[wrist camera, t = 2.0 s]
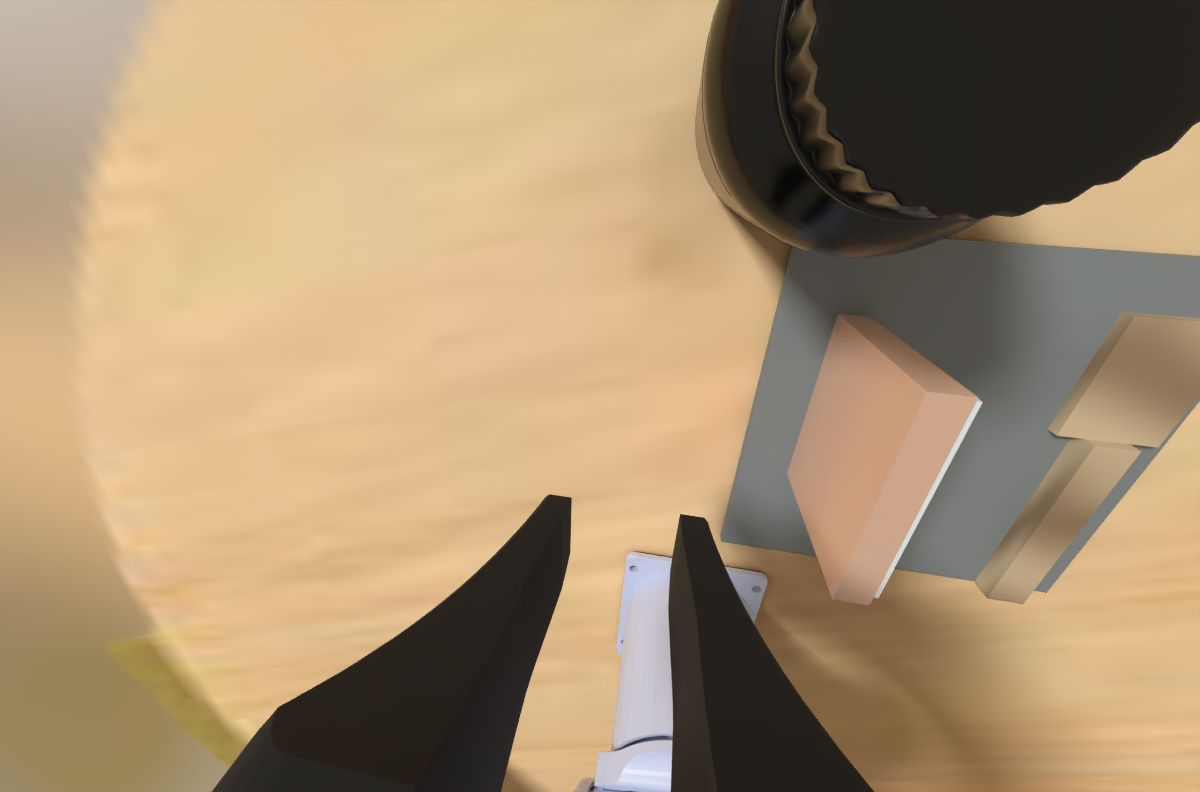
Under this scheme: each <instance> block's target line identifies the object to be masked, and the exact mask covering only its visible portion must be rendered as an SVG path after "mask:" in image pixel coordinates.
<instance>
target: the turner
mask: <svg viewBox="0 0 1200 792" xmlns="http://www.w3.org/2000/svg"><path fill="white" fill-rule="evenodd" d="M1199 396H1200V319H1199V318H1188V317H1176V316H1164V315H1152V314H1140V313H1129V312H1122V313H1121V314H1120V316H1119V317H1118V319H1117V321H1116V322H1115V324H1114V325H1113V327H1112V328H1111V330H1110V332H1109V333H1108V335H1107V336H1106V338H1105V339H1104V341H1103V343H1102V344H1101V346H1100V347H1099V349H1098V351H1097V352H1096V354H1095V355H1094V357H1093V358H1092V360H1091V362H1090V363H1089V365H1088V366H1087V368H1086V369H1085V371H1084V373H1083V374H1082V376H1081V377H1080V379H1079V381H1078V382H1077V384H1076V385H1075V387H1074V388H1073V390H1072V392H1071V393H1070V395H1069V396H1068V398H1067V400H1066V401H1065V403H1064V404H1063V406H1062V407H1061V409H1060V411H1059V412H1058V414H1057V415H1056V417H1055V418H1054V420H1053V422H1052V423H1051V425H1050V426H1049V428H1048V430H1049V431H1051V432H1052V433H1054V434H1055V435H1057V436H1063V437H1071V438H1070V440H1069V441H1068V443H1067V444H1066V446H1065V447H1064V449H1063V450H1062V452H1061V453H1060V455H1059V456H1058V458H1057V459H1056V461H1055V462H1054V464H1053V465H1052V467H1051V468H1050V470H1049V471H1048V473H1047V474H1046V476H1045V477H1044V479H1043V480H1042V482H1041V483H1040V485H1039V486H1038V488H1037V489H1036V491H1035V492H1034V494H1033V495H1032V497H1031V498H1030V500H1029V501H1028V503H1027V504H1026V506H1025V507H1024V509H1023V510H1022V512H1021V513H1020V515H1019V516H1018V518H1017V519H1016V521H1015V522H1014V524H1013V525H1012V526H1011V528H1010V529H1009V531H1008V532H1007V534H1006V535H1005V537H1004V538H1003V540H1002V541H1001V543H1000V544H999V546H998V547H997V549H996V550H995V552H994V553H993V555H992V556H991V558H990V559H989V561H988V562H987V564H986V565H985V567H984V568H983V570H982V571H981V573H980V574H979V576H978V577H977V579H976V580H975V582H976V584H977V585H978V586H979V588H980V589H981V591H982V592H983V593H984V595H985V596H986V597H987V598H988V599H995V600H1001V601H1007V602H1013V603H1019V604H1024V602H1025V601H1026V600H1027V598H1028V597H1029V596H1030V595H1031V593H1032V592H1033V591H1034V589H1035V588H1036V587H1037V586H1038V584H1039V583H1040V582H1041V580H1042V579H1043V578H1044V577H1045V575H1046V574H1047V573H1048V571H1049V570H1050V569H1051V568H1052V566H1053V565H1054V564H1055V562H1056V561H1057V560H1058V559H1059V557H1060V556H1061V555H1062V553H1063V552H1064V551H1065V550H1066V548H1067V547H1068V546H1069V544H1070V543H1071V542H1072V540H1073V539H1074V538H1075V537H1076V535H1077V534H1078V533H1079V531H1080V530H1081V529H1082V528H1083V526H1084V525H1085V524H1086V522H1087V521H1088V520H1089V519H1090V517H1091V516H1092V515H1093V513H1094V512H1095V511H1096V510H1097V508H1098V507H1099V506H1100V504H1101V503H1102V502H1103V501H1104V499H1105V498H1106V497H1107V495H1108V494H1109V493H1110V491H1111V490H1112V489H1113V488H1114V486H1115V485H1116V484H1117V482H1118V481H1119V480H1120V479H1121V477H1122V476H1123V475H1124V473H1125V472H1126V471H1127V470H1128V468H1129V467H1130V466H1131V464H1132V463H1133V462H1134V461H1135V459H1136V458H1137V457H1138V455H1139V454H1140V453H1141V452H1142V451H1140V450H1138V449H1137V448H1135V447H1133V446H1132V445H1140V446H1149V447H1157V448H1159V446H1160V445H1161V444H1162V443H1163V441H1164V440H1165V439H1166V437H1167V436H1168V435H1169V434H1170V432H1171V431H1172V430H1173V429H1174V427H1175V426H1176V425H1177V424H1178V422H1179V421H1180V420H1181V419H1182V417H1183V416H1184V415H1185V414H1186V412H1187V411H1188V410H1189V408H1190V407H1191V406H1192V405H1193V403H1194V402H1195V401H1196V400H1197V398H1198V397H1199ZM1130 444H1132V445H1130Z"/></svg>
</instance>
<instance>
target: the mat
mask: <svg viewBox="0 0 1200 792" xmlns="http://www.w3.org/2000/svg"><path fill="white" fill-rule="evenodd" d="M1122 312H1129V313H1140V314H1152V315H1164V316H1176V317H1188V318H1199V319H1200V256H1189V255H1175V254H1160V253H1146V252H1132V251H1117V250H1103V249H1089V248H1074V247H1060V246H1045V245H1031V244H1017V243H1002V242H988V241H974V240H959V239H945V238H944V239H942V240H939V241H937V242H934V243H932V244H929V245H926V246H922V247H919V248H916V249H913V250H909V251H904V252H900V253H896V254H891V255H884V256H877V257H864V258H848V257H835V256H828V255H822V254H818V253H814V252H810V251H806V250H803V249H800V248H797V247H794V246H792V249H791V253H790V257H789V261H788V265H787V269H786V273H785V277H784V281H783V285H782V289H781V293H780V297H779V301H778V305H777V309H776V313H775V317H774V321H773V325H772V329H771V333H770V338H769V342H768V346H767V350H766V354H765V358H764V362H763V366H762V370H761V374H760V378H759V382H758V386H757V390H756V394H755V398H754V402H753V406H752V410H751V414H750V418H749V422H748V426H747V430H746V434H745V439H744V443H743V447H742V451H741V455H740V459H739V463H738V467H737V471H736V475H735V479H734V483H733V487H732V491H731V495H730V499H729V503H728V507H727V511H726V515H725V519H724V523H723V527H722V531H721V535H720V537H721V542H728V543H734V544H740V545H747V546H753V547H759V548H766V549H772V550H779V551H785V552H791V553H798V554H804V555H810V556H816V553H815V550H814V548H813V545H812V542H811V539H810V537H809V534H808V531H807V528H806V525H805V523H804V520H803V517H802V514H801V512H800V509H799V506H798V503H797V500H796V498H795V495H794V492H793V489H792V487H791V484H790V481H789V478H788V476H787V472H788V469H789V466H790V463H791V460H792V457H793V454H794V450H795V447H796V444H797V441H798V438H799V435H800V432H801V428H802V425H803V422H804V419H805V416H806V413H807V409H808V406H809V403H810V400H811V397H812V394H813V391H814V387H815V384H816V381H817V378H818V375H819V372H820V369H821V365H822V362H823V359H824V356H825V353H826V350H827V346H828V343H829V340H830V337H831V334H832V331H833V328H834V324H835V321H836V318H837V315H838V314H847V315H858V316H869V317H871V318H872V319H874V320H875V321H876V322H878V323H879V324H881V325H882V326H883V327H885V328H886V329H887V330H889V331H890V332H891V333H893V334H894V335H895V336H897V337H898V338H899V339H901V340H902V341H903V342H905V343H906V344H907V345H909V346H910V347H911V348H913V349H914V350H915V351H917V352H918V353H919V354H921V355H922V356H923V357H925V358H926V359H927V360H929V361H930V362H932V363H933V364H934V365H936V366H937V367H938V368H940V369H941V370H942V371H944V372H945V373H946V374H948V375H949V376H950V377H952V378H953V379H954V380H956V381H957V382H958V383H960V384H961V385H962V386H964V387H965V388H966V389H968V390H969V391H970V392H972V393H973V394H974V395H976V396H977V397H978V399H979V400H981V401H982V402H983V403H982V404H981V406H980V408H979V410H978V412H977V414H976V416H975V418H974V420H973V421H972V423H971V425H970V427H969V429H968V431H967V433H966V435H965V436H964V438H963V440H962V442H961V444H960V446H959V448H958V450H957V452H956V453H955V455H954V457H953V459H952V461H951V463H950V465H949V467H948V468H947V470H946V472H945V474H944V476H943V478H942V480H941V482H940V483H939V485H938V487H937V489H936V491H935V493H934V495H933V497H932V499H931V500H930V502H929V504H928V506H927V508H926V510H925V512H924V514H923V515H922V517H921V519H920V521H919V523H918V525H917V527H916V529H915V531H914V532H913V534H912V536H911V538H910V540H909V542H908V544H907V546H906V547H905V549H904V551H903V553H902V555H901V557H900V559H899V561H898V563H897V564H896V566H895V568H894V569H900V570H906V571H912V572H919V573H925V574H931V575H938V576H944V577H950V578H957V579H963V580H970V581H975V580H976V579H977V577H978V576H979V574H980V573H981V571H982V570H983V568H984V567H985V565H986V564H987V562H988V561H989V559H990V558H991V556H992V555H993V553H994V552H995V550H996V549H997V547H998V546H999V544H1000V543H1001V541H1002V540H1003V538H1004V537H1005V535H1006V534H1007V532H1008V531H1009V529H1010V528H1011V526H1012V525H1013V524H1014V522H1015V521H1016V519H1017V518H1018V516H1019V515H1020V513H1021V512H1022V510H1023V509H1024V507H1025V506H1026V504H1027V503H1028V501H1029V500H1030V498H1031V497H1032V495H1033V494H1034V492H1035V491H1036V489H1037V488H1038V486H1039V485H1040V483H1041V482H1042V480H1043V479H1044V477H1045V476H1046V474H1047V473H1048V471H1049V470H1050V468H1051V467H1052V465H1053V464H1054V462H1055V461H1056V459H1057V458H1058V456H1059V455H1060V453H1061V452H1062V450H1063V449H1064V447H1065V446H1066V444H1067V443H1068V441H1069V440H1070V438H1071V437H1063V436H1057V435H1055V434H1054V433H1052V432H1051V431H1049V430H1048V428H1049V426H1050V425H1051V423H1052V422H1053V420H1054V418H1055V417H1056V415H1057V414H1058V412H1059V411H1060V409H1061V407H1062V406H1063V404H1064V403H1065V401H1066V400H1067V398H1068V396H1069V395H1070V393H1071V392H1072V390H1073V388H1074V387H1075V385H1076V384H1077V382H1078V381H1079V379H1080V377H1081V376H1082V374H1083V373H1084V371H1085V369H1086V368H1087V366H1088V365H1089V363H1090V362H1091V360H1092V358H1093V357H1094V355H1095V354H1096V352H1097V351H1098V349H1099V347H1100V346H1101V344H1102V343H1103V341H1104V339H1105V338H1106V336H1107V335H1108V333H1109V332H1110V330H1111V328H1112V327H1113V325H1114V324H1115V322H1116V321H1117V319H1118V317H1119V316H1120V314H1121V313H1122ZM1199 401H1200V396H1199V397H1198V398H1197V400H1196V401H1195V402H1194V403H1193V405H1192V406H1191V407H1190V408H1189V410H1188V411H1187V412H1186V414H1185V415H1184V416H1183V417H1182V419H1181V420H1180V421H1179V422H1178V424H1177V425H1176V426H1175V427H1174V429H1173V430H1172V431H1171V432H1170V434H1169V435H1168V436H1167V437H1166V439H1165V440H1164V441H1163V443H1162V444H1161V445H1160V446H1159V448H1157V447H1149V446H1140V445H1132V444H1130V445H1132V446H1133V447H1135V448H1137V449H1138V450H1140V451H1142V452H1141V453H1140V454H1139V455H1138V457H1137V458H1136V459H1135V461H1134V462H1133V463H1132V464H1131V466H1130V467H1129V468H1128V470H1127V471H1126V472H1125V473H1124V475H1123V476H1122V477H1121V479H1120V480H1119V481H1118V482H1117V484H1116V485H1115V486H1114V488H1113V489H1112V490H1111V491H1110V493H1109V494H1108V495H1107V497H1106V498H1105V499H1104V501H1103V502H1102V503H1101V504H1100V506H1099V507H1098V508H1097V510H1096V511H1095V512H1094V513H1093V515H1092V516H1091V517H1090V519H1089V520H1088V521H1087V522H1086V524H1085V525H1084V526H1083V528H1082V529H1081V530H1080V531H1079V533H1078V534H1077V535H1076V537H1075V538H1074V539H1073V540H1072V542H1071V543H1070V544H1069V546H1068V547H1067V548H1066V550H1065V551H1064V552H1063V553H1062V555H1061V556H1060V557H1059V559H1058V560H1057V561H1056V562H1055V564H1054V565H1053V566H1052V568H1051V569H1050V570H1049V571H1048V573H1047V574H1046V575H1045V577H1044V578H1043V579H1042V580H1041V582H1040V583H1039V584H1038V586H1037V587H1036V588H1035V589H1034V591H1040V592H1046V593H1047V591H1048V590H1049V589H1050V588H1051V586H1052V585H1053V584H1054V583H1055V581H1056V580H1057V579H1058V578H1059V576H1060V575H1061V574H1062V573H1063V571H1064V570H1065V569H1066V568H1067V566H1068V565H1069V564H1070V563H1071V561H1072V560H1073V559H1074V558H1075V556H1076V555H1077V554H1078V553H1079V551H1080V550H1081V549H1082V548H1083V546H1084V545H1085V544H1086V543H1087V541H1088V540H1089V539H1090V538H1091V536H1092V535H1093V534H1094V533H1095V531H1096V530H1097V529H1098V528H1099V526H1100V525H1101V524H1102V523H1103V521H1104V520H1105V519H1106V518H1107V516H1108V515H1109V514H1110V513H1111V511H1112V510H1113V509H1114V508H1115V506H1116V505H1117V504H1118V503H1119V501H1120V500H1121V499H1122V498H1123V496H1124V495H1125V494H1126V493H1127V491H1128V490H1129V489H1130V488H1131V486H1132V485H1133V484H1134V483H1135V481H1136V480H1137V479H1138V478H1139V476H1140V475H1141V474H1142V473H1143V471H1144V470H1145V469H1146V468H1147V466H1148V465H1149V464H1150V463H1151V461H1152V460H1153V459H1154V458H1155V456H1156V455H1157V454H1158V453H1159V451H1160V450H1161V449H1162V448H1163V446H1164V445H1165V444H1166V443H1167V441H1168V440H1169V439H1170V438H1171V436H1172V435H1173V434H1174V433H1175V431H1176V430H1177V429H1178V428H1179V426H1180V425H1181V424H1182V423H1183V421H1184V420H1185V419H1186V418H1187V416H1188V415H1189V414H1190V413H1191V411H1192V410H1193V409H1194V407H1195V406H1196V405H1197V404H1198V402H1199Z"/></svg>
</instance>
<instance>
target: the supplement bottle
mask: <svg viewBox="0 0 1200 792" xmlns="http://www.w3.org/2000/svg"><path fill="white" fill-rule="evenodd" d="M1198 122H1200V0H719V1H718V4H717V7H716V10H715V13H714V16H713V20H712V24H711V28H710V32H709V36H708V40H707V46H706V51H705V57H704V63H703V69H702V75H701V82H700V88H699V95H698V101H697V108H696V118H695V136H696V147H697V153H698V157H699V161H700V165H701V167H702V170H703V173H704V175H705V177H706V179H707V181H708V183H709V185H710V186H711V188H712V189H713V191H714V192H715V193H716V195H717V196H718V197H719V198H720V199H721V200H722V201H723V202H724V203H725V204H726V205H727V206H728V207H729V208H730V209H731V210H733V211H734V212H735V213H737V214H738V215H740V216H742V217H743V218H745V219H746V220H748V221H749V222H751V223H753V224H754V225H756V226H757V227H759V228H760V229H762V230H764V231H765V232H767V233H768V234H770V235H772V236H773V237H775V238H777V239H779V240H781V241H783V242H785V243H787V244H789V245H792V246H794V247H797V248H800V249H803V250H806V251H810V252H814V253H818V254H822V255H828V256H835V257H848V258H864V257H877V256H884V255H891V254H896V253H900V252H904V251H909V250H913V249H916V248H919V247H922V246H926V245H929V244H932V243H934V242H937V241H939V240H942V239H944V238H946V237H949V236H951V235H953V234H955V233H957V232H959V231H961V230H963V229H965V228H967V227H969V226H971V225H973V224H975V223H976V222H978V221H980V220H982V219H983V218H986V217H989V216H992V215H997V216H1007V217H1014V216H1020V215H1023V214H1025V213H1027V212H1029V211H1032V210H1034V209H1036V208H1038V207H1039V206H1041V205H1048V204H1061V203H1067V202H1069V201H1071V200H1073V199H1074V198H1076V197H1078V196H1079V195H1081V194H1082V193H1084V192H1085V191H1087V190H1088V189H1090V188H1091V187H1093V186H1095V185H1102V184H1107V183H1110V182H1114V181H1118V180H1119V179H1121V178H1122V177H1123V176H1124V175H1126V174H1127V173H1128V172H1130V171H1131V170H1132V169H1133V168H1134V167H1135V166H1137V165H1138V164H1139V163H1140V162H1141V161H1142V160H1145V159H1148V158H1150V157H1153V156H1156V155H1158V154H1161V153H1163V152H1165V151H1167V150H1170V149H1171V148H1172V147H1173V146H1174V145H1175V144H1176V143H1177V142H1178V141H1179V140H1180V139H1181V138H1182V137H1183V136H1184V135H1185V133H1186V132H1187V131H1188V130H1189V129H1190V128H1191V127H1192V126H1193V125H1195V124H1196V123H1198Z"/></svg>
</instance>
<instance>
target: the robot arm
mask: <svg viewBox="0 0 1200 792" xmlns="http://www.w3.org/2000/svg"><path fill="white" fill-rule="evenodd" d="M571 499H572V498H570V497H563V496H556V495H548V496H546V497H545V498H544V500H543V501H542V502H541V504H540V505H539V506H538V507H537V509H536V510H535V511H534V512H533V513H532V515H531V516H530V517H529V518H528V519H527V521H526V522H525V523H524V524H523V525H522V526H521V527H520V528H519V530H518V531H517V532H516V533H515V534H514V535H513V536H512V537H511V538H510V539H509V540H508V541H507V542H506V544H505V545H504V546H503V547H502V548H501V549H500V550H499V551H498V552H497V553H496V554H495V555H494V556H493V557H492V558H491V559H490V560H489V561H488V562H487V563H486V564H485V565H483V566H482V567H481V568H480V569H479V570H478V571H477V572H476V573H475V574H474V575H473V576H472V577H471V578H470V579H469V580H467V581H466V582H465V583H464V584H463V585H462V586H461V587H459V588H458V589H457V590H456V591H455V592H454V593H452V594H451V595H450V596H449V597H448V598H446V599H445V600H444V601H443V602H441V603H440V604H439V605H438V606H436V607H435V608H434V609H432V610H431V611H430V612H429V613H427V614H426V615H425V616H423V617H422V618H421V619H419V620H418V621H417V622H415V623H414V624H413V625H411V626H410V627H409V628H407V629H406V630H404V631H403V632H402V633H400V634H399V635H397V636H396V637H394V638H393V639H391V640H390V641H388V642H387V643H385V644H384V645H382V646H381V647H379V648H378V649H376V650H374V651H373V652H371V653H370V654H368V655H367V656H365V657H364V658H362V659H361V660H359V661H358V662H356V663H355V664H353V665H351V666H350V667H348V668H346V669H345V670H343V671H341V672H340V673H338V674H336V675H335V676H333V677H331V678H329V679H328V680H326V681H324V682H322V683H321V684H319V685H317V686H315V687H314V688H312V689H310V690H308V691H306V692H305V693H303V694H301V695H299V696H298V697H296V698H294V699H292V700H291V701H289V702H287V703H285V704H283V705H281V706H279V707H278V708H277V709H276V711H275V712H274V713H273V714H272V715H271V717H270V718H269V719H268V720H267V721H266V722H265V723H264V725H263V726H262V727H261V728H260V729H259V730H258V731H257V733H256V734H255V735H254V737H253V738H252V739H251V740H250V742H249V743H248V744H247V746H246V747H245V748H244V750H243V751H242V752H241V754H240V755H239V756H238V758H237V759H236V760H235V762H234V763H233V764H232V766H231V767H230V768H229V769H228V771H227V772H226V774H225V775H224V776H223V777H222V779H221V780H220V781H219V783H218V784H217V785H216V787H215V788H214V790H213V791H212V792H501V789H502V785H503V781H504V777H505V773H506V769H507V765H508V761H509V757H510V753H511V749H512V745H513V741H514V737H515V733H516V729H517V725H518V722H519V718H520V714H521V710H522V706H523V702H524V698H525V695H526V691H527V688H528V685H529V681H530V678H531V675H532V672H533V669H534V666H535V663H536V661H537V658H538V655H539V652H540V649H541V646H542V644H543V641H544V638H545V635H546V632H547V629H548V627H549V624H550V621H551V618H552V615H553V612H554V610H555V607H556V604H557V601H558V598H559V595H560V592H561V589H562V585H563V581H564V577H565V573H566V568H567V564H568V560H569V555H570V539H571ZM634 566H636V567H634ZM767 585H768V581H767V577H766V575H764V574H763V573H760V572H755V571H749V570H743V569H737V568H731V567H725V566H724V564H723V561H722V559H721V557H720V554H719V552H718V549H717V547H716V544H715V542H714V539H713V537H712V534H711V531H710V528H709V525H708V522H707V521H706V519H705V518H702V517H695V516H689V515H682V514H680V518H679V524H678V529H677V535H676V540H675V546H674V551H673V557H672V558H669V557H663V556H657V555H651V554H645V553H639V552H631V553H629V554H628V555H627V558H626V566H625V575H624V584H623V593H622V602H621V611H620V620H619V629H618V638H617V647H616V651H617V652H618V653H619V654H620V655H622V657H621V665H620V673H619V682H618V690H617V699H616V707H615V715H614V724H613V732H612V740H611V749H610V751H600V752H599V755H598V762H597V769H596V776H595V778H585V779H583V780H582V781H580V783H579V784H578V785H577V787H576V788H575V790H574V792H874V791H873V790H872V788H871V787H870V786H869V785H868V784H867V782H866V781H865V780H864V779H863V777H862V776H861V775H860V774H859V773H858V771H857V770H856V769H855V768H854V766H853V765H852V764H851V763H850V761H849V760H848V759H847V758H846V757H845V755H844V754H843V753H842V752H841V750H840V749H839V748H838V746H837V745H836V744H835V742H834V741H833V740H832V738H831V737H830V736H829V734H828V733H827V732H826V730H825V729H824V728H823V726H822V725H821V724H820V722H819V721H818V720H817V718H816V717H815V716H814V714H813V713H812V712H811V710H810V709H809V708H808V706H807V705H806V704H805V702H804V701H803V700H802V698H801V697H800V695H799V694H798V692H797V691H796V690H795V688H794V687H793V685H792V684H791V682H790V681H789V679H788V678H787V676H786V675H785V673H784V672H783V670H782V669H781V667H780V666H779V664H778V663H777V661H776V659H775V658H774V656H773V655H772V653H771V652H770V650H769V648H768V647H767V645H766V644H765V642H764V640H763V639H762V637H761V635H760V633H759V632H758V630H757V628H756V626H755V625H754V623H755V620H756V617H757V614H758V611H759V608H760V605H761V602H762V599H763V596H764V593H765V590H766V588H767ZM755 586H758V587H755Z"/></svg>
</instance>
